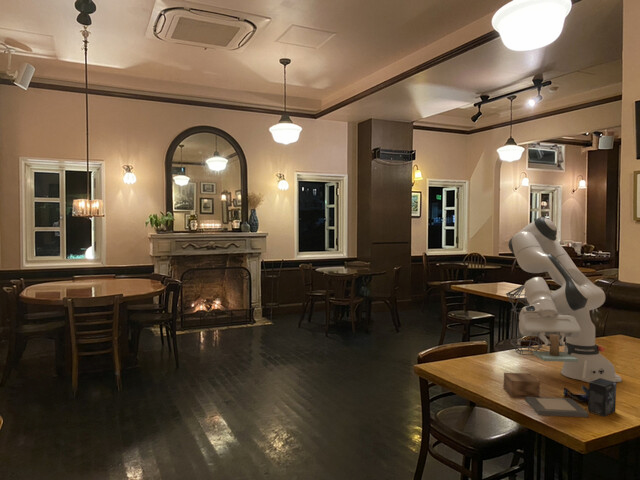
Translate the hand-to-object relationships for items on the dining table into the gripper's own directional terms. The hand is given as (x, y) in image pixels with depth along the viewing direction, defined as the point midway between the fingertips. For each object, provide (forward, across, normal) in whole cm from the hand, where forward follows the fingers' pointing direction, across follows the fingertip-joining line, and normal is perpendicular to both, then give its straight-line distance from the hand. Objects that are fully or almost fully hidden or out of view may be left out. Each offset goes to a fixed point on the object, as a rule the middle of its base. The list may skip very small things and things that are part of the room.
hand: (555, 345), depth 161 cm
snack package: (+8, -14, -24) cm, 29 cm away
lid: (+3, 0, -4) cm, 5 cm away
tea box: (+3, +6, -28) cm, 29 cm away
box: (+15, -16, -17) cm, 28 cm away
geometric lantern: (-40, -14, -67) cm, 79 cm away
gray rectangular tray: (+14, -1, -18) cm, 23 cm away
